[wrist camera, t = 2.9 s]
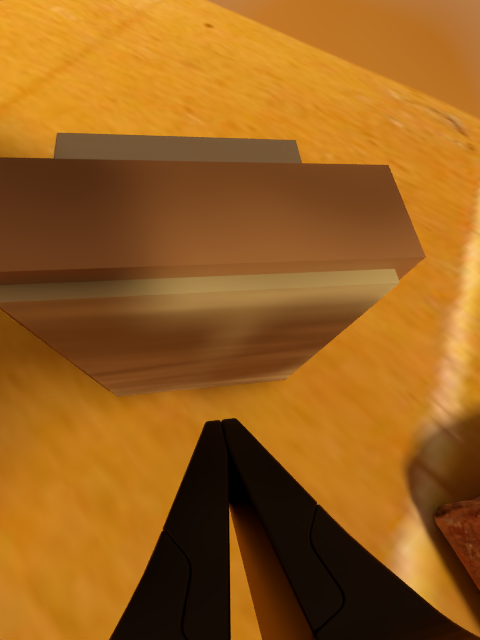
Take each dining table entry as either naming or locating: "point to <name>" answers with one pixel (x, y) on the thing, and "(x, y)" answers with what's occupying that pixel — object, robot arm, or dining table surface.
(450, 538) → the ceramic shard
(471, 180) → the dining table surface
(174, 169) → the brown wooden block
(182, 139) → the charcoal rubber mat
